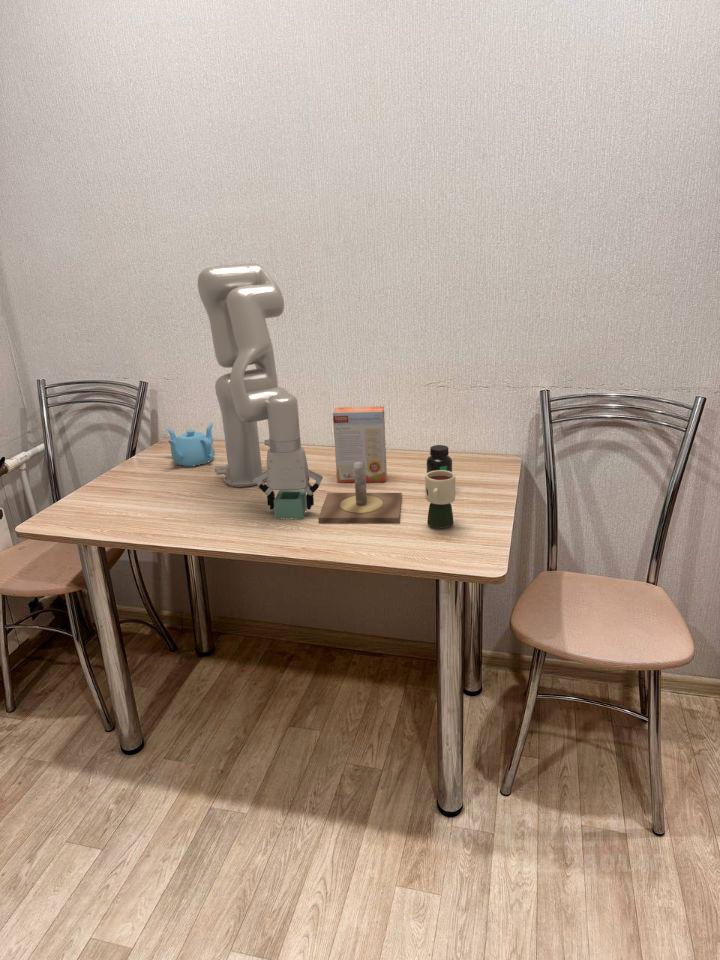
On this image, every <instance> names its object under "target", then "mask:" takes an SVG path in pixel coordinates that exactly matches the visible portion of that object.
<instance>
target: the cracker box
mask: <svg viewBox="0 0 720 960" xmlns="http://www.w3.org/2000/svg"><path fill="white" fill-rule="evenodd" d="M332 420H333V422H332V423H333V437H334V455H335V456H334V457H335V468H336V469H335V470H336V482H337V483H355V472H354V463H355V462H359V461H361V462H365V470H366V483H385V482H386V481H387V476H388V472H387V448H386V426H385V425H386V423H385V420H386V419H385V407H384V406H382V405H381V406H379V405H378V406H348V407H346V406H344V407H343V406H342V407H335V408H334V410H333V412H332Z"/></svg>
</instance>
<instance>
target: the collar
mask: <svg viewBox="0 0 720 960" xmlns="http://www.w3.org/2000/svg"><path fill="white" fill-rule="evenodd" d="M306 495H307V492H306V491H305V490H304V489H302V490H278V491H277V494H276V495H275V499H274V509H273V510H274V518H275V520H287V519H286V518H289V519H288V520H291V519H290V518H293V519H292V520H303V519H304V517H303V516H305V514H306V512H307V510H308V509H307V500H306ZM306 509H307V510H306ZM305 511H306V512H305ZM276 518H277V519H276ZM281 518H282V519H281ZM283 518H285V519H283ZM295 518H297V519H295Z"/></svg>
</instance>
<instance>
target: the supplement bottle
mask: <svg viewBox="0 0 720 960" xmlns="http://www.w3.org/2000/svg"><path fill="white" fill-rule="evenodd" d="M449 453H450V452H449V447H448V446H447V445H444V444H443V445H442V444H435V445H431V446H430V449H429V456H428V457H427V459H426V473H428V472H431V471H436V470H446V471H450V472H453V459H452V457H451V456H449Z"/></svg>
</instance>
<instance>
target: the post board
mask: <svg viewBox="0 0 720 960" xmlns="http://www.w3.org/2000/svg"><path fill="white" fill-rule="evenodd" d="M354 472H355V482H354V489H355V492H327V493H326V496H325V497H324V501H323V503H322V507H321V510H320V512H319V516H318V524H400V521H401V513H402V512H401V511H402V500H403V499H402V498H403V493H402V492H367V482H366V470H365V462H361V461H359V462H355V463H354Z"/></svg>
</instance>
